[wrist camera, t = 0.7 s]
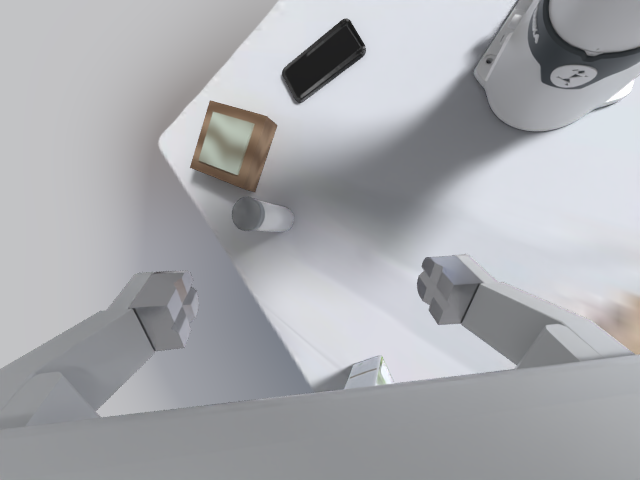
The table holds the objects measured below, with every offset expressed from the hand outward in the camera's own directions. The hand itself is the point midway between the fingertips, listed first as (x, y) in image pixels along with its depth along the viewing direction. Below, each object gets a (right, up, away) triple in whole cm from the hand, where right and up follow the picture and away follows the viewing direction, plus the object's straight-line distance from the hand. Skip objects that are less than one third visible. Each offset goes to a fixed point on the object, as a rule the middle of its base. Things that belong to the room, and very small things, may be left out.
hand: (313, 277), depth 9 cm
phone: (+1, +34, +39) cm, 52 cm away
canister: (-7, +5, +41) cm, 42 cm away
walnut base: (-17, +20, +45) cm, 52 cm away
